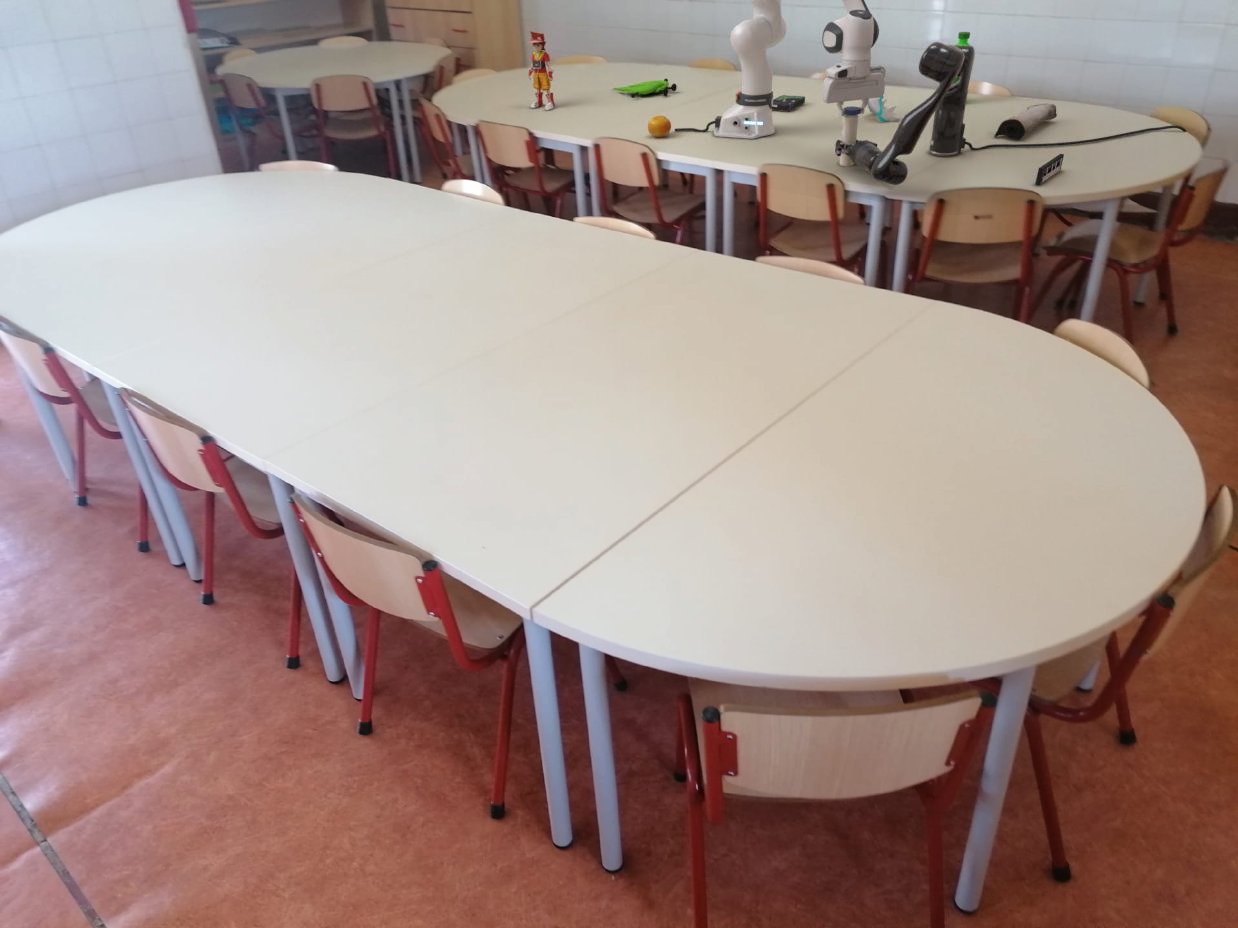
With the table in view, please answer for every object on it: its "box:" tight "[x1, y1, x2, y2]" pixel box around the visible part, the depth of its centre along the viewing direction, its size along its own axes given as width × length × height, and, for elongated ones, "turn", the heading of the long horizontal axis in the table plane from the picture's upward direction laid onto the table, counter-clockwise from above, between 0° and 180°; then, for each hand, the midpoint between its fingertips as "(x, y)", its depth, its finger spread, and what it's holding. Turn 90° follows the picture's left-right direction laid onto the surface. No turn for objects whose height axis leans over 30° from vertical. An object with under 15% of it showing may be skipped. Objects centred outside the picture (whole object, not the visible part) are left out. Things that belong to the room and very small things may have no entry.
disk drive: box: [772, 94, 806, 112], centre depth 362 cm, size 10×3×15 cm
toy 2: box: [612, 78, 677, 99], centre depth 396 cm, size 28×5×30 cm
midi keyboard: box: [1035, 153, 1065, 186], centre depth 273 cm, size 18×1×5 cm, turn 138°
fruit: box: [647, 115, 672, 138], centre depth 334 cm, size 8×8×8 cm
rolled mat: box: [993, 103, 1058, 141], centre depth 317 cm, size 30×9×10 cm
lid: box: [843, 105, 861, 116], centre depth 287 cm, size 5×5×2 cm
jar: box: [839, 115, 860, 167], centre depth 292 cm, size 5×5×17 cm
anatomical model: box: [867, 95, 901, 123], centre depth 339 cm, size 15×10×10 cm
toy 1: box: [527, 31, 556, 111], centre depth 374 cm, size 12×9×30 cm
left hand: (851, 114), depth 288 cm, fingers closed on lid, 5 cm apart
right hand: (845, 142), depth 295 cm, fingers closed on jar, 4 cm apart
